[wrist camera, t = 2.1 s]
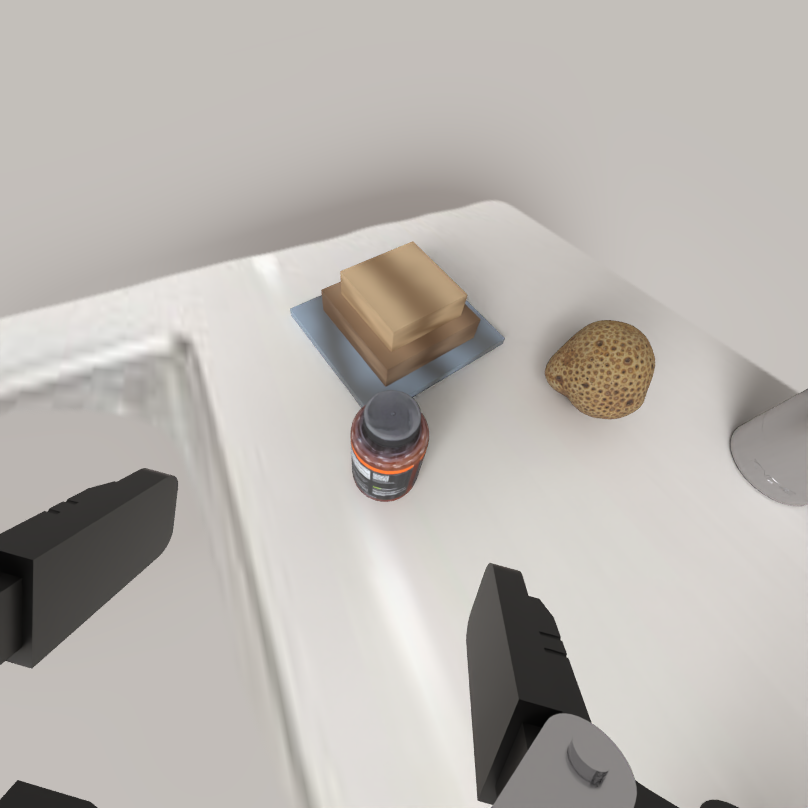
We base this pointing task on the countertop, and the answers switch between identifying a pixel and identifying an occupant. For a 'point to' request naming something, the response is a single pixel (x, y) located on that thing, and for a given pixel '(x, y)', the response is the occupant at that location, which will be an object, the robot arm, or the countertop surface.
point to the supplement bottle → (388, 445)
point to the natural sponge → (603, 369)
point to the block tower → (395, 325)
